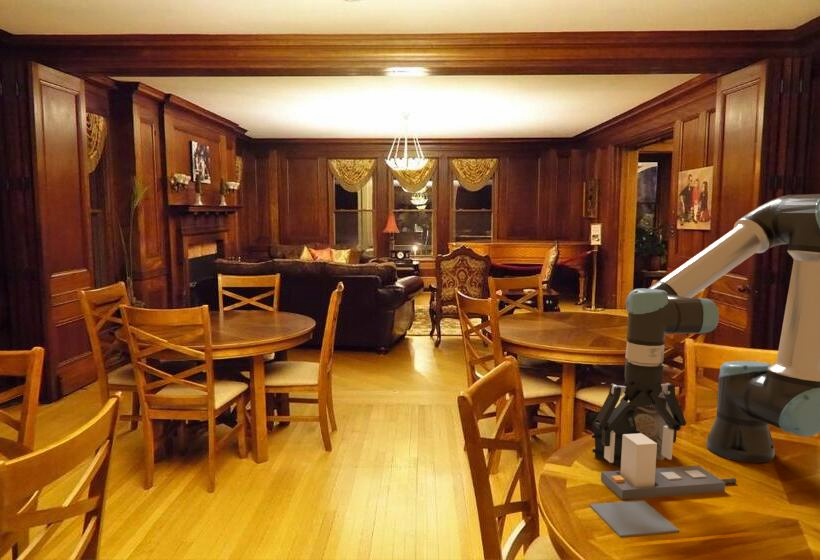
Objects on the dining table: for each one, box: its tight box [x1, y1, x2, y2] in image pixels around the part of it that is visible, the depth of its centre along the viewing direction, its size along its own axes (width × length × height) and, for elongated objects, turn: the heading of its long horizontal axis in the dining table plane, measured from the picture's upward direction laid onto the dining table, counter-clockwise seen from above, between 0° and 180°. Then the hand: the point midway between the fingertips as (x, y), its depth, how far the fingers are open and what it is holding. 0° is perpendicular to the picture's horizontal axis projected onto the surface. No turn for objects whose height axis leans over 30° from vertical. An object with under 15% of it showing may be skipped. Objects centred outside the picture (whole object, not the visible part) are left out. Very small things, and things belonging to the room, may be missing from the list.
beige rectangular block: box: [620, 433, 657, 488], centre depth 131 cm, size 4×6×11 cm
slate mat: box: [589, 499, 680, 538], centre depth 118 cm, size 12×12×1 cm
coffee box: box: [631, 392, 674, 461], centre depth 151 cm, size 9×6×16 cm
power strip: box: [600, 464, 737, 501], centre depth 133 cm, size 30×9×3 cm, turn 100°
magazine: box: [587, 407, 640, 469], centre depth 145 cm, size 4×13×15 cm, turn 32°
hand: (637, 458), depth 131 cm, fingers open, 13 cm apart
